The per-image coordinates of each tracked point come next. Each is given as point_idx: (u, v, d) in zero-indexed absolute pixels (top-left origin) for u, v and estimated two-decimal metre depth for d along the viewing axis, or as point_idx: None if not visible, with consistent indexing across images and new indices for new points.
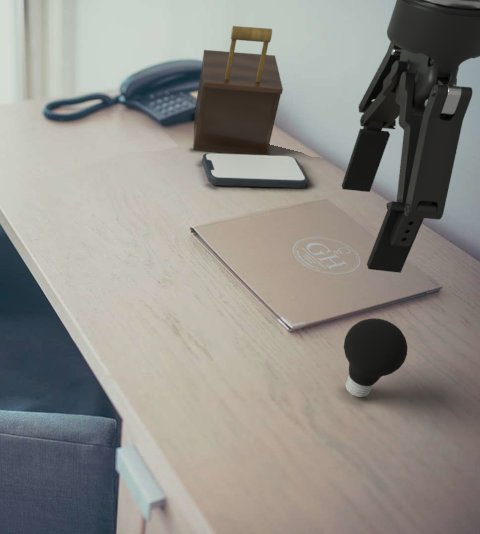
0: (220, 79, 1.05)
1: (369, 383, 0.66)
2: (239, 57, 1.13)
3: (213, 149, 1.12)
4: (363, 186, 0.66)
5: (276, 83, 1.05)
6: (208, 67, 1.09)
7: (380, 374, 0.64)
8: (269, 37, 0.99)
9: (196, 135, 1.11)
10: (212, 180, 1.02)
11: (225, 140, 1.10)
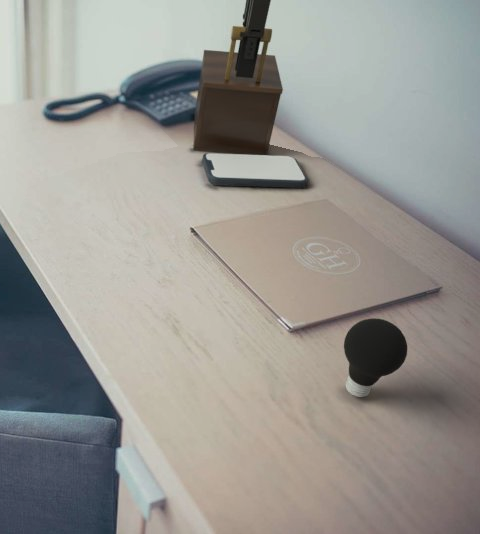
0: (220, 79, 1.05)
1: (369, 383, 0.66)
2: None
3: (213, 149, 1.12)
4: None
5: (276, 83, 1.05)
6: (208, 67, 1.09)
7: (380, 374, 0.64)
8: (269, 37, 0.99)
9: (196, 135, 1.11)
10: (212, 180, 1.02)
11: (225, 140, 1.10)
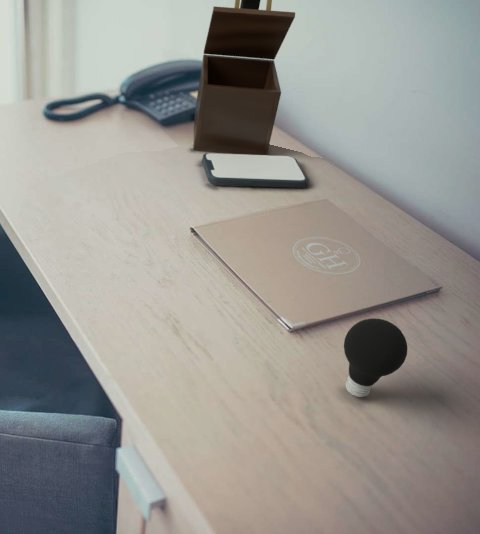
0: None
1: (369, 383, 0.66)
2: None
3: (213, 149, 1.12)
4: None
5: None
6: None
7: (380, 374, 0.64)
8: None
9: (196, 135, 1.11)
10: (212, 180, 1.02)
11: (225, 140, 1.10)
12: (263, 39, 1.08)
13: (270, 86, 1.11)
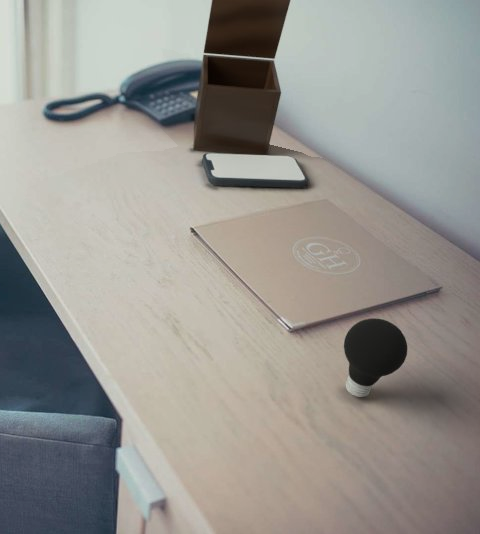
0: None
1: (369, 383, 0.66)
2: None
3: (213, 149, 1.12)
4: None
5: None
6: None
7: (380, 374, 0.64)
8: None
9: (196, 135, 1.11)
10: (212, 180, 1.02)
11: (225, 140, 1.10)
12: (264, 21, 1.09)
13: (270, 86, 1.11)
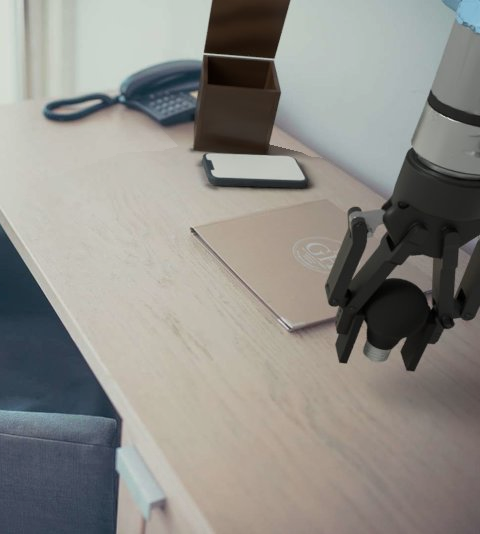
0: None
1: (388, 347, 0.63)
2: None
3: (213, 149, 1.12)
4: None
5: None
6: None
7: (400, 336, 0.61)
8: None
9: (196, 135, 1.11)
10: (212, 180, 1.02)
11: (225, 140, 1.10)
12: (264, 21, 1.09)
13: (270, 86, 1.11)
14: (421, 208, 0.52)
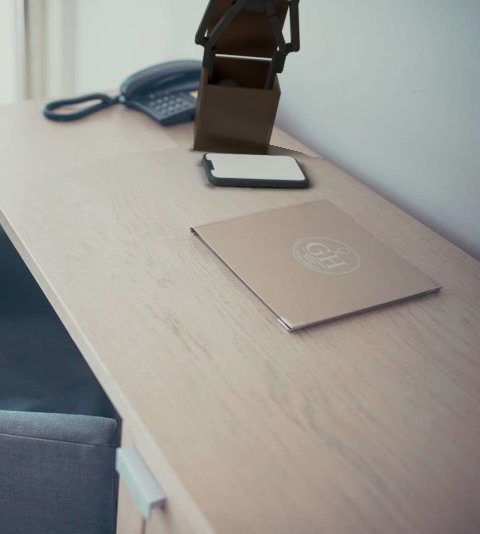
0: None
1: None
2: None
3: (213, 149, 1.12)
4: None
5: None
6: None
7: None
8: None
9: (196, 135, 1.11)
10: (212, 180, 1.02)
11: (225, 140, 1.10)
12: (264, 21, 1.09)
13: None
14: None
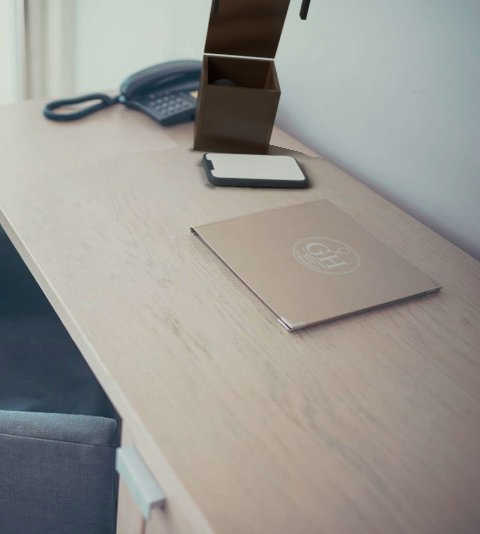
0: None
1: None
2: None
3: (213, 149, 1.12)
4: None
5: None
6: None
7: None
8: None
9: (196, 135, 1.11)
10: (212, 180, 1.02)
11: (225, 140, 1.10)
12: (264, 21, 1.09)
13: (270, 86, 1.11)
14: None
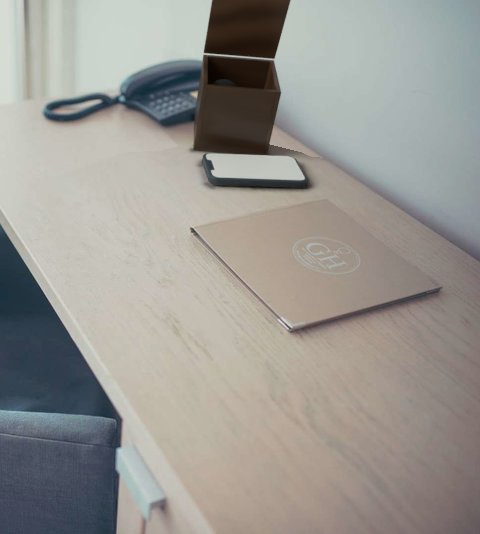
0: None
1: None
2: None
3: (213, 149, 1.12)
4: None
5: None
6: None
7: None
8: None
9: (196, 135, 1.11)
10: (212, 180, 1.02)
11: (225, 140, 1.10)
12: (264, 21, 1.09)
13: (270, 86, 1.11)
14: None
